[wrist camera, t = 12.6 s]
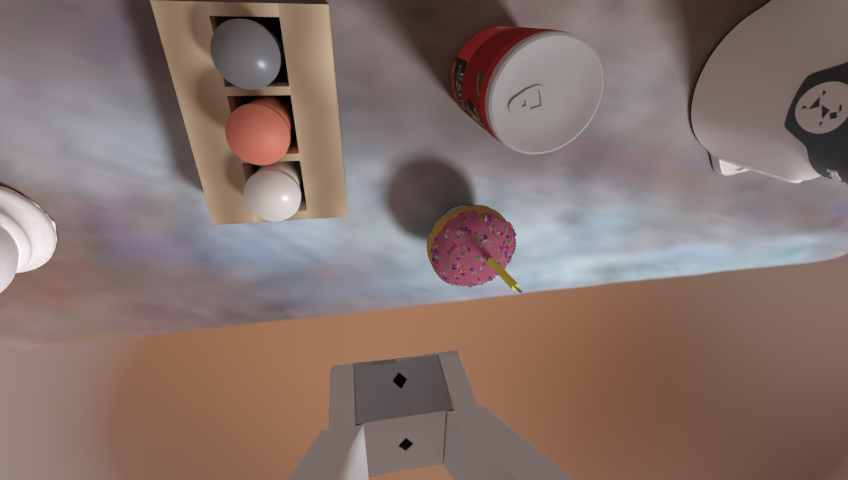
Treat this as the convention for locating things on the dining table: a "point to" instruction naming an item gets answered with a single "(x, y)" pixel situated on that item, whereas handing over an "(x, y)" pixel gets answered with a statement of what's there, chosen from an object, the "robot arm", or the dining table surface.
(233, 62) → the graphite plug
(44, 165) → the dining table surface
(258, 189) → the white rounded piece
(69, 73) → the dining table surface
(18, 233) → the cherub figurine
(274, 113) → the red plug
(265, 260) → the dining table surface
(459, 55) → the canned food
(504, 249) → the cupcake
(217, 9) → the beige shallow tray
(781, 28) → the robot arm
